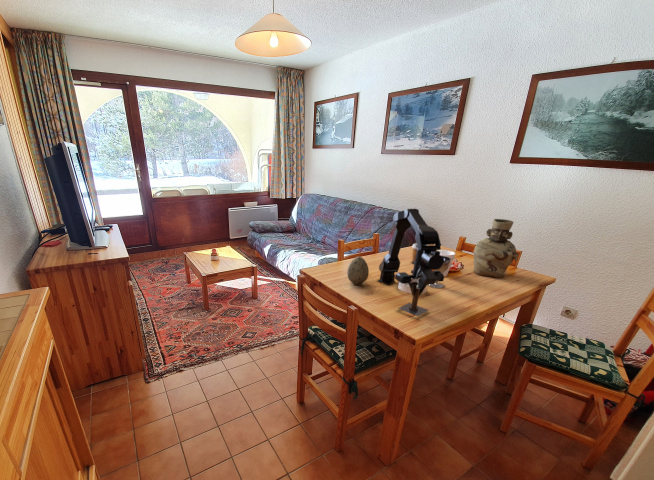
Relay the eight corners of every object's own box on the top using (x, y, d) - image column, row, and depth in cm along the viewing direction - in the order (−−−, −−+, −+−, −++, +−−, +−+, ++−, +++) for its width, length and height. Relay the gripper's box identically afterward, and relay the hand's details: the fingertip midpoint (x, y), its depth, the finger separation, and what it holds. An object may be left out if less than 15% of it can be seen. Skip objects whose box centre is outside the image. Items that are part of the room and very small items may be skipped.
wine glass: (446, 289, 157) (452, 261, 151) (429, 287, 158) (435, 260, 152) (442, 282, 164) (448, 256, 158) (426, 281, 165) (431, 255, 160)
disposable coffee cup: (428, 266, 188) (432, 247, 184) (412, 265, 188) (416, 247, 184) (421, 260, 197) (425, 242, 192) (407, 260, 197) (410, 242, 193)
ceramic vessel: (499, 282, 164) (516, 226, 153) (462, 270, 182) (474, 219, 170) (519, 276, 173) (536, 223, 161) (481, 265, 190) (494, 216, 178)
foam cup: (432, 275, 173) (436, 253, 168) (431, 270, 181) (435, 249, 176) (451, 278, 170) (456, 255, 165) (449, 272, 178) (454, 251, 173)
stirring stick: (407, 308, 134) (411, 287, 130) (411, 306, 136) (415, 285, 132) (415, 311, 131) (419, 290, 127) (419, 309, 133) (423, 288, 129)
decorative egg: (342, 281, 166) (345, 254, 160) (361, 279, 169) (363, 253, 163) (352, 289, 157) (354, 261, 151) (371, 286, 159) (374, 259, 153)
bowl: (392, 290, 155) (393, 281, 153) (406, 283, 163) (408, 275, 161) (417, 299, 146) (418, 289, 144) (431, 292, 153) (432, 282, 151)
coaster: (397, 311, 135) (398, 308, 134) (408, 305, 140) (409, 302, 139) (417, 319, 128) (417, 316, 128) (428, 313, 133) (428, 309, 133)
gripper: (412, 268, 116) (405, 305, 122) (456, 266, 119) (448, 302, 125) (397, 259, 126) (391, 293, 132) (439, 257, 129) (431, 291, 135)
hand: (415, 295), depth 131 cm, fingers closed on stirring stick, 2 cm apart
